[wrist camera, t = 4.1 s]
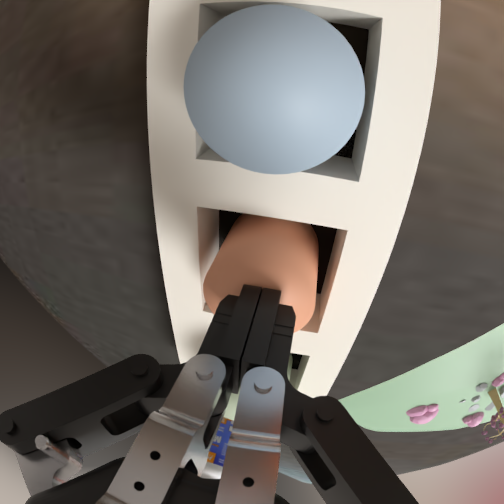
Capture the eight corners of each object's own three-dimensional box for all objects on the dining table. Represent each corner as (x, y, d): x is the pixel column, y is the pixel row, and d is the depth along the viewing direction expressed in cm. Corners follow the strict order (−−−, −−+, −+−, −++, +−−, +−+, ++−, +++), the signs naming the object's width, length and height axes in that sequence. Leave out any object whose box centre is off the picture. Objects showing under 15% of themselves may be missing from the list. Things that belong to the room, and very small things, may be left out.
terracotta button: (228, 274, 17) (205, 326, 14) (229, 199, 14) (200, 243, 11) (310, 288, 16) (304, 345, 13) (326, 213, 14) (326, 265, 10)
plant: (364, 446, 30) (359, 509, 23) (310, 365, 22) (293, 474, 15) (540, 392, 20) (553, 451, 12) (585, 268, 11) (633, 352, 4)
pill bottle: (227, 405, 28) (200, 489, 20) (257, 426, 30) (237, 503, 22) (191, 407, 30) (163, 481, 22) (221, 428, 32) (199, 496, 24)
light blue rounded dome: (224, 134, 11) (184, 165, 8) (229, 25, 9) (186, 7, 6) (340, 150, 11) (349, 187, 8) (355, 36, 8) (373, 18, 5)
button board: (198, 362, 24) (186, 391, 21) (185, -18, 9) (152, -33, 6) (317, 386, 22) (313, 417, 20) (416, 2, 8) (440, -13, 5)
